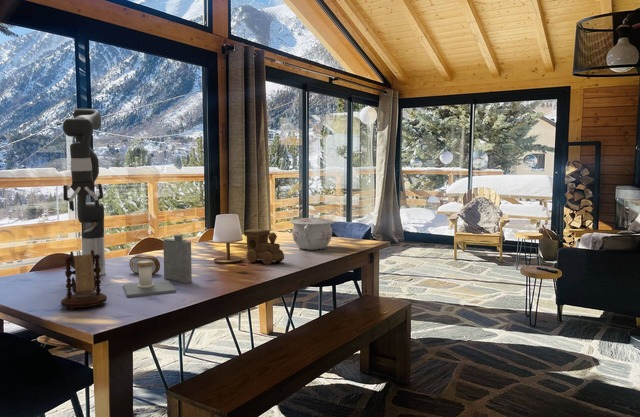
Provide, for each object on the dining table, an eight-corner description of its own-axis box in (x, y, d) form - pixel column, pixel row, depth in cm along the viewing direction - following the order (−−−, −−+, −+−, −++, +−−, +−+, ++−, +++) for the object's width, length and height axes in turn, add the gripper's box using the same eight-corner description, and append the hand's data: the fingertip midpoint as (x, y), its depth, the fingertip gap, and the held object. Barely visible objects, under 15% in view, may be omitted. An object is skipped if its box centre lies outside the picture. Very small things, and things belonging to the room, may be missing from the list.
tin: (160, 274, 227) (160, 256, 226) (156, 275, 224) (156, 257, 223) (132, 272, 231) (132, 254, 231) (128, 273, 228) (128, 255, 228)
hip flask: (162, 278, 219) (161, 233, 217) (169, 276, 222) (168, 232, 220) (187, 282, 210) (186, 236, 208) (194, 281, 214) (193, 235, 212)
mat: (123, 286, 202) (123, 284, 202) (168, 282, 210) (168, 280, 210) (127, 297, 186) (127, 294, 186) (175, 292, 194) (175, 289, 194)
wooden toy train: (243, 261, 257) (242, 230, 256) (257, 258, 266) (257, 228, 265) (272, 266, 246) (272, 233, 244) (286, 262, 255) (286, 231, 254)
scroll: (64, 314, 165) (62, 255, 163) (58, 304, 177) (55, 249, 175) (111, 307, 174) (109, 251, 172) (101, 297, 186) (100, 245, 184)
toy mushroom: (137, 288, 195) (137, 264, 195) (136, 285, 201) (136, 261, 200) (154, 287, 198) (154, 262, 197) (153, 283, 204) (152, 260, 203)
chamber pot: (315, 243, 320) (315, 211, 318) (343, 249, 298) (344, 215, 297) (280, 247, 302) (280, 214, 300) (307, 254, 281) (307, 218, 279)
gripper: (101, 168, 200) (104, 207, 202) (62, 169, 194) (65, 209, 197) (100, 169, 193) (103, 210, 195) (60, 170, 188) (63, 212, 190)
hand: (84, 210), depth 196 cm, fingers open, 8 cm apart
